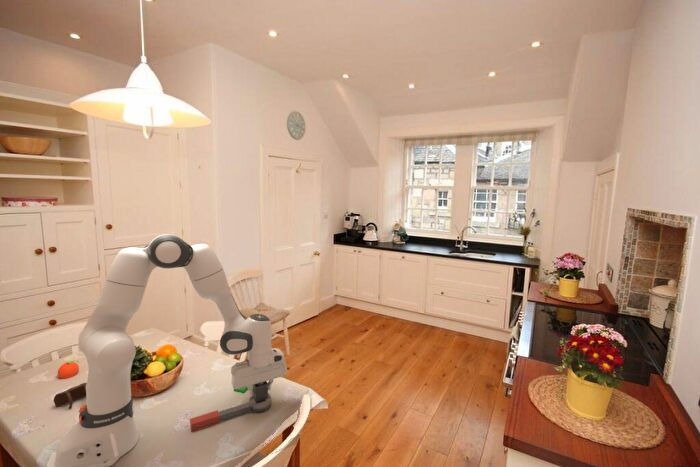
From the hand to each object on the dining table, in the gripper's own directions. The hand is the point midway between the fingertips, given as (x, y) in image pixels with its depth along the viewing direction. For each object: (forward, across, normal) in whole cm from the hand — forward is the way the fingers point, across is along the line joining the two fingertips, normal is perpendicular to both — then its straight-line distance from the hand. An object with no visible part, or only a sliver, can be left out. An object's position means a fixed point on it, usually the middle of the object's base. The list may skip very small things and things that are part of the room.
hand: (260, 392), depth 123 cm
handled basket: (+6, -57, +31) cm, 65 cm away
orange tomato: (+6, -65, +60) cm, 89 cm away
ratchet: (+6, 0, 0) cm, 6 cm away
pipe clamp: (+3, +3, +15) cm, 16 cm away
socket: (+2, 0, 0) cm, 2 cm away
